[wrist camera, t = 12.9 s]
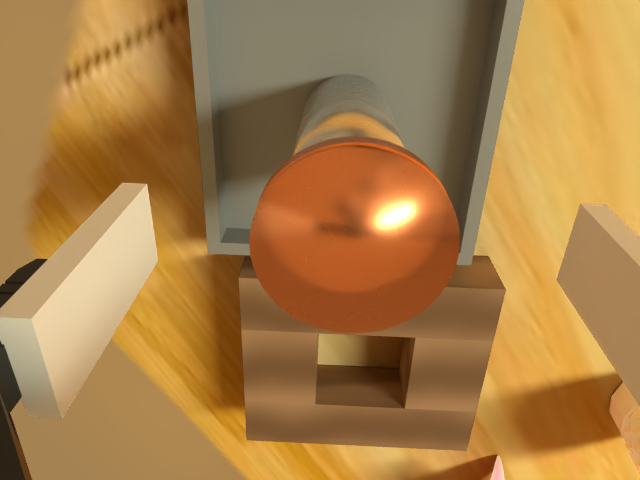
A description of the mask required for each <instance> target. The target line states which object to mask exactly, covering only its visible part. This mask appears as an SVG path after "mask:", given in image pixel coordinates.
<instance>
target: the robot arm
mask: <svg viewBox="0 0 640 480" xmlns="http://www.w3.org/2000/svg"><path fill="white" fill-rule="evenodd" d="M157 262H158V256H157V249H156V242H155V235H154V228H153V221H152V214H151V207H150V200H149V193H148V186H147V184H141V183H121V184H120V185H119V187H118V188H117V189H116V190H115V191H114V192H113V193H112V194H111V195H110V196H109V197H108V198H107V199H106V200H105V201H104V202H103V203H102V204H101V205H100V206H99V207H98V208H97V209H96V210H95V211H94V212H93V213H92V214H91V215H90V216H89V217H88V218H87V220H86V221H85V222H84V223H83V224H82V225H81V226H80V227H79V228H78V229H77V230H76V231H75V232H74V233H73V234H72V235H71V236H70V237H69V238H68V239H67V240H66V241H65V242H64V243H63V244H62V245H61V246H60V247H59V248H58V249H57V250H56V251H55V253H54V254H53V255H52V256H51V257H50V258H49V259H36V260H34V261H32V262H30V263H28V264H26V265H25V266H23V267H21V268H19V269H18V270H17V271H16V272H15V273H14V274H12V276H10V277H9V278H8V279H7V280H6V281H5V284H2V285H1V286H0V480H32V478H31V475H30V473H29V469H28V466H27V463H26V460H25V457H24V454H23V450H22V447H21V444H20V441H19V438H18V435H17V432H16V428H15V426H14V423H13V420H12V418H11V415H10V412H11V411H12V409H13V408H14V407H15V405H16V404H17V403H18V401H19V400H20V398H21V400H22V403H23V406H24V408H25V411H26V414H27V417H32V418H49V419H63V417H64V415H65V414H66V412H67V410H68V409H69V407H70V405H71V404H72V402H73V400H74V399H75V397H76V395H77V394H78V392H79V391H80V389H81V387H82V385H83V384H84V382H85V381H86V379H87V377H88V376H89V374H90V372H91V371H92V369H93V367H94V366H95V364H96V362H97V361H98V359H99V357H100V356H101V354H102V352H103V351H104V349H105V347H106V346H107V344H108V343H109V341H110V339H111V338H112V336H113V334H114V333H115V331H116V329H117V328H118V326H119V325H120V323H121V321H122V320H123V318H124V316H125V315H126V313H127V311H128V310H129V308H130V306H131V305H132V303H133V301H134V300H135V298H136V296H137V295H138V293H139V291H140V290H141V288H142V287H143V285H144V283H145V282H146V280H147V278H148V277H149V275H150V273H151V272H152V270H153V268H154V267H155V265H156V263H157ZM557 281H558V283H559V284H560V286H561V287H562V289H563V291H564V292H565V294H566V295H567V297H568V298H569V300H570V301H571V303H572V304H573V306H574V307H575V309H576V310H577V312H578V314H579V315H580V317H581V318H582V320H583V321H584V323H585V324H586V326H587V327H588V329H589V330H590V332H591V333H592V335H593V337H594V338H595V340H596V341H597V343H598V344H599V346H600V347H601V349H602V350H603V352H604V353H605V355H606V356H607V358H608V359H609V361H610V363H611V364H612V366H613V367H614V369H615V370H616V372H617V373H618V375H619V376H620V378H621V379H622V381H623V382H624V384H625V386H626V387H627V389H628V390H629V392H630V393H631V395H632V396H633V398H634V399H635V401H636V402H637V404H638V405H639V407H640V237H639V236H638V235H637V234H636V233H635V232H634V231H633V230H632V229H631V228H630V227H629V226H628V225H627V224H626V223H625V222H624V221H623V220H621V219H620V218H619V217H618V216H617V215H616V214H615V213H614V212H613V211H612V210H611V209H610V208H609V207H608V206H607V205H601V204H580V206H579V209H578V213H577V216H576V219H575V222H574V226H573V229H572V232H571V235H570V239H569V242H568V245H567V248H566V251H565V255H564V258H563V261H562V264H561V268H560V271H559V274H558V277H557Z"/></svg>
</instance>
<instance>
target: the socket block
mask: <svg viewBox="0 0 640 480" xmlns="http://www.w3.org/2000/svg"><path fill="white" fill-rule="evenodd" d="M505 291H506V289H505V287H504V285H503V283H502V281H501V280H500V278H499V276H498V274H497V272H496V270H495V268H494V266H493V264H492V262H491V260H490V258H489V256H473V259H472V264H471V265H456V267H455V269H454V272H453V274H452V277H451V279H450V280H449V282H448V284H447V285H446V287H445V288H444V290H443V291H442V292H441V294H440V295H439V296H438V297H437V298H436V299H435V300H434V301H433V302H432V303H431V304H430V305H429V306H428V307H427V308H426V309H424V310H423V311H422V312H420V313H419V314H418V315H416V316H414V317H413V318H411V319H409V320H407V321H405V322H403V323H401V324H399V325H396V326H393V327H390V328H387V329H384V330H380V331H375V332H368V333H338V332H332V331H327V330H322V329H319V328H316V327H313V326H310V325H308V324H306V323H304V322H301V321H299V320H298V319H296V318H294V317H293V316H291V315H289V314H288V313H287V312H285V311H284V310H283V309H281V308H280V307H279V306H278V305H277V304H276V303H275V302H274V301H273V300H272V299H271V298H270V296H269V295H268V294H267V293H266V291H265V290H264V289H263V287H262V285H261V284H260V282H259V280H258V278H257V276H256V273H255V271H254V268H253V265H252V261H251V257H250V256H249V255H246V256H245V259H244V262H243V265H242V269H241V272H240V275H239V297H240V317H241V337H242V357H243V376H244V396H245V416H246V436H247V440H254V441H275V442H295V443H316V444H336V445H357V446H377V447H398V448H418V449H439V450H460V451H467V447H468V443H469V439H470V434H471V430H472V426H473V422H474V418H475V414H476V410H477V406H478V402H479V398H480V393H481V389H482V385H483V381H484V377H485V373H486V369H487V365H488V361H489V357H490V352H491V348H492V344H493V340H494V336H495V332H496V328H497V324H498V320H499V316H500V312H501V307H502V303H503V299H504V295H505ZM319 333H324V334H346V335H368V336H390V337H403V342H402V349H401V357H400V364H399V369H398V368H376V367H355V366H333V365H317V361H318V336H319Z"/></svg>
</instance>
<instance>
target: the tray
mask: <svg viewBox="0 0 640 480" xmlns="http://www.w3.org/2000/svg"><path fill="white" fill-rule="evenodd" d="M187 4H188V17H189V29H190V41H191V53H192V65H193V78H194V90H195V102H196V114H197V127H198V139H199V151H200V163H201V175H202V188H203V200H204V212H205V224H206V236H207V249H208V254H226V255H249V256H250V248H249V239H250V229H251V224H252V220H253V217H254V214H255V211H256V208H257V205H258V202H259V199H260V197H261V194H262V192H263V190H264V188H265V186H266V184H267V182H268V181H269V180H270V178H271V177H272V175H273V174H274V173H275V171H276V170H277V169H278V168H279V167H280V166H281V165H282V164H283V163H284V162H286V161H287V160H288V159H289V158H291V157H292V155H293V151H294V147H295V143H296V139H297V135H298V130H299V126H300V122H301V118H302V114H303V110H304V106H305V103H306V101H307V99H308V97H309V95H310V94H311V92H312V91H313V90H314V89H315V88H316V87H317V86H318V85H319V84H320V83H321V82H323V81H325V80H326V79H328V78H330V77H333V76H336V75H342V74H353V75H358V76H362V77H364V78H367V79H369V80H370V81H372V82H373V83H375V84H376V85H377V86H378V87H379V88H380V89H381V90H382V92H383V93H384V95H385V96H386V98H387V100H388V103H389V106H390V108H391V111H392V114H393V116H394V119H395V122H396V125H397V127H398V130H399V133H400V135H401V138H402V141H403V143H404V146H405V149H407V150H408V151H410V152H412V153H413V154H415V155H416V156H417V157H419V158H420V159H421V160H423V161H424V162H425V163H426V164H427V165H428V166H429V167H430V168H431V169H432V170H433V172H434V173H435V174H436V176H437V177H438V178H439V180H440V182H441V183H442V185H443V187H444V189H445V191H446V193H447V195H448V197H449V199H450V201H451V203H452V205H453V208H454V211H455V213H456V216H457V220H458V225H459V230H460V249H459V256H458V260H457V264H456V265H471V264H472V259H473V254H474V249H475V244H476V239H477V234H478V229H479V224H480V219H481V214H482V209H483V204H484V199H485V194H486V189H487V184H488V179H489V174H490V169H491V164H492V159H493V154H494V149H495V144H496V139H497V134H498V129H499V124H500V119H501V114H502V109H503V104H504V99H505V94H506V89H507V84H508V79H509V74H510V69H511V64H512V59H513V54H514V49H515V44H516V39H517V35H518V30H519V25H520V20H521V15H522V10H523V5H524V0H187Z"/></svg>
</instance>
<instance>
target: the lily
mask: <svg viewBox="0 0 640 480" xmlns="http://www.w3.org/2000/svg"><path fill="white" fill-rule="evenodd" d="M491 480H504V472H503V465H502V461H501V458H500V456H499V455H498V456H497V458H496V462H495V465H494V469H493V473H492V477H491Z"/></svg>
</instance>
